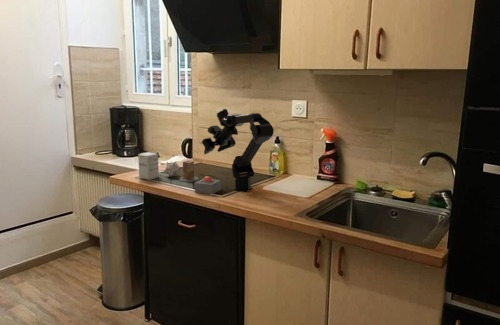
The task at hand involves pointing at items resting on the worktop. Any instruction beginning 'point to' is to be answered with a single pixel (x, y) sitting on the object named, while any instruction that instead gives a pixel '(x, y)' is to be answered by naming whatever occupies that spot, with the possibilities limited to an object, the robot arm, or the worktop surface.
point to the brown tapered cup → (188, 170)
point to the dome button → (207, 180)
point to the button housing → (207, 186)
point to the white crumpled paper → (172, 169)
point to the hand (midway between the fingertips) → (211, 152)
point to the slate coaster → (189, 180)
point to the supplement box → (148, 165)
